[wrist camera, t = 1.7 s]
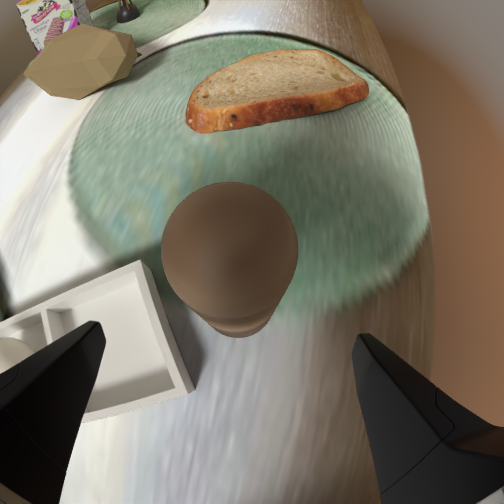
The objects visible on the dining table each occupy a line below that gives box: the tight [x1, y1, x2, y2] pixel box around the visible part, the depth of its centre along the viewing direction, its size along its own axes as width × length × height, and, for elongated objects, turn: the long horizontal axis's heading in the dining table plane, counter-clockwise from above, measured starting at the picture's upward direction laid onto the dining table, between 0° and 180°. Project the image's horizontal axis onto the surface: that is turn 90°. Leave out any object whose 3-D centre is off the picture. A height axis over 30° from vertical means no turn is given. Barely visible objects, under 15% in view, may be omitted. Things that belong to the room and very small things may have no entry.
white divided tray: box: [0, 260, 195, 423], centre depth 17 cm, size 9×18×2 cm, turn 113°
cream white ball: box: [0, 337, 35, 374], centre depth 14 cm, size 6×6×6 cm
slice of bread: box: [186, 49, 369, 133], centre depth 27 cm, size 18×18×4 cm
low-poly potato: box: [24, 24, 142, 100], centre depth 25 cm, size 15×11×12 cm
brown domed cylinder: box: [161, 182, 298, 338], centre depth 14 cm, size 5×5×12 cm
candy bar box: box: [16, 0, 93, 54], centre depth 27 cm, size 11×5×16 cm, turn 92°
